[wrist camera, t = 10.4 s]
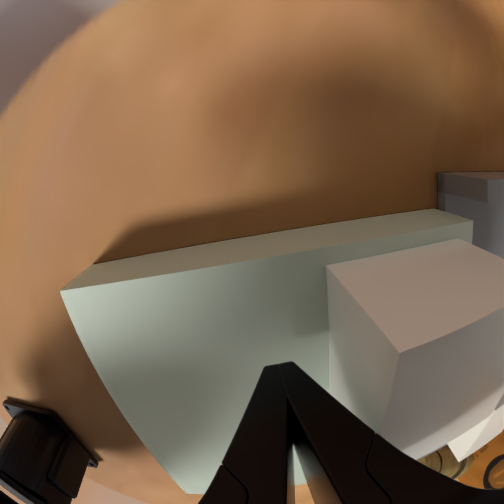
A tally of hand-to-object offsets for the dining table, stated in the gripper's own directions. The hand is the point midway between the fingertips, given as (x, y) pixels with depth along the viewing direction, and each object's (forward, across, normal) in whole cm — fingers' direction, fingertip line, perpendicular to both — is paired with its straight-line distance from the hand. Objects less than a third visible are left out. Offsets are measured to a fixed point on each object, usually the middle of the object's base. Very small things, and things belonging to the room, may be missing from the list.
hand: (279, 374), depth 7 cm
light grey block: (+1, -4, 0) cm, 4 cm away
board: (+4, -1, +4) cm, 6 cm away
